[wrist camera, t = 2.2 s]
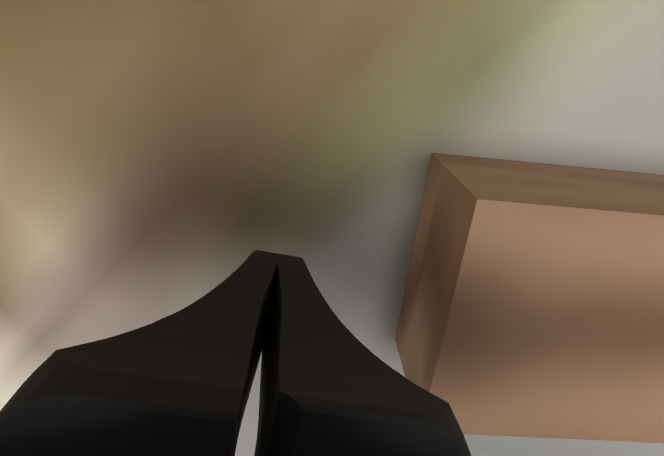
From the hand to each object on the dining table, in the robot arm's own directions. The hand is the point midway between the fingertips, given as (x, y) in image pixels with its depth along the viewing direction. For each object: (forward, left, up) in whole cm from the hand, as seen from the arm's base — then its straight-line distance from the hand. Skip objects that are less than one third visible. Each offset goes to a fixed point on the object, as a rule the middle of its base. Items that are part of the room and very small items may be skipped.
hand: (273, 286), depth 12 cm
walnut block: (0, -10, -5) cm, 11 cm away
